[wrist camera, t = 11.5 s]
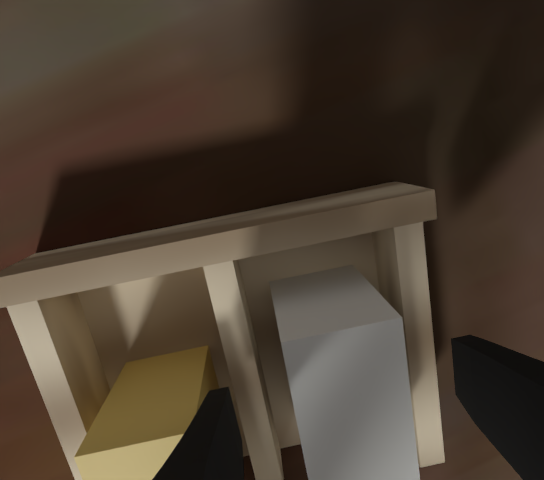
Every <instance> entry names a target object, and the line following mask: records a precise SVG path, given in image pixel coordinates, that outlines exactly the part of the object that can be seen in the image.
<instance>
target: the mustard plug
mask: <svg viewBox="0 0 544 480" xmlns="http://www.w3.org/2000/svg"><path fill="white" fill-rule="evenodd" d="M214 389H219V385H218V381H217V377H216V373H215V369H214V366H213V362H212V358H211V354H210V350H209V346H208V345H207V346H202V347H198V348H193V349H188V350H183V351H178V352H174V353H169V354H164V355H159V356H154V357H150V358H145V359H140V360H135V361H130V362H126V363H125V365H124V367H123V369H122V371H121V372H120V374H119V376H118V378H117V380H116V382H115V383H114V385H113V387H112V389H111V391H110V392H109V394H108V396H107V398H106V400H105V402H104V403H103V405H102V407H101V409H100V411H99V412H98V414H97V416H96V418H95V420H94V422H93V423H92V425H91V427H90V429H89V431H88V433H87V434H86V436H85V438H84V440H83V442H82V443H81V445H80V447H79V449H78V451H77V453H76V454H75V456H74V459H75V462H76V464H77V467H78V469H79V472H80V475H81V477H82V480H152V479H153V478H154V476H155V475H156V474H157V472H158V471H159V470H160V468H161V467H162V466H163V464H164V463H165V461H166V460H167V458H168V457H169V456H170V454H171V453H172V451H173V450H174V448H175V447H176V445H177V444H178V442H179V441H180V439H181V438H182V436H183V434H184V433H185V431H186V430H187V428H188V426H189V425H190V423H191V421H192V420H193V418H194V416H195V414H196V413H197V411H198V409H199V407H200V406H201V404H202V402H203V400H204V398H205V397H206V395H207V393H208V392H209V391H210V390H214Z"/></svg>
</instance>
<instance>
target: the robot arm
mask: <svg viewBox="0 0 544 480" xmlns="http://www.w3.org/2000/svg"><path fill="white" fill-rule="evenodd" d="M451 343H452V355H453V368H454V380H455V392H456V395H457V397H458V399H459V400H460V402H461V403H462V405H463V406H464V408H465V409H466V411H467V412H468V414H469V415H470V417H471V418H472V420H473V421H474V423H475V424H476V425H477V426H478V427H479V429H480V430H481V431H482V432H483V433H484V435H485V436H486V437H487V438H488V439H489V441H490V442H491V443H492V444H493V445H494V446H495V448H496V449H497V450H498V451H499V452H500V453H501V455H502V456H503V457H504V458H505V459H506V460H507V462H508V463H509V464H510V465H511V466H512V467H513V468H514V470H515V471H516V472H517V473H518V474H519V475H520V477H521V478H522V479H523V480H544V362H543V361H540V360H537V359H534V358H532V357H529V356H526V355H524V354H521V353H518V352H516V351H513V350H511V349H508V348H505V347H503V346H500V345H498V344H495V343H492V342H490V341H487V340H484V339H481V338H478V337H475V336H472V335H467V336H462V337H457V338H453V339H451ZM152 480H244V463H243V446H242V438H241V434H240V430H239V426H238V422H237V418H236V414H235V410H234V406H233V402H232V398H231V394H230V390H229V386H228V387H223V388H219V389H214V390H210V391H209V392H208V393H207V395H206V397H205V398H204V400H203V402H202V404H201V406H200V407H199V409H198V411H197V413H196V414H195V416H194V418H193V420H192V421H191V423H190V425H189V426H188V428H187V430H186V431H185V433H184V434H183V436H182V438H181V439H180V441H179V442H178V444H177V445H176V447H175V448H174V450H173V451H172V453H171V454H170V456H169V457H168V458H167V460H166V461H165V463H164V464H163V466H162V467H161V468H160V470H159V471H158V472H157V474H156V475H155V476H154V478H153V479H152Z"/></svg>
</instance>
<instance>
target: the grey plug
mask: <svg viewBox="0 0 544 480" xmlns="http://www.w3.org/2000/svg"><path fill="white" fill-rule="evenodd" d="M269 284H270V289H271V294H272V300H273V305H274V310H275V315H276V320H277V325H278V331H279V336H280V341H281V346H282V351H283V356H284V361H285V366H286V371H287V376H288V381H289V386H290V391H291V396H292V401H293V406H294V411H295V416H296V421H297V426H298V431H299V436H300V441H301V446H302V451H303V456H304V461H305V466H306V471H307V476H308V480H420V475H419V466H418V457H417V448H416V439H415V430H414V421H413V411H412V402H411V393H410V384H409V375H408V366H407V356H406V347H405V338H404V329H403V320H402V317H401V316H400V315H399V313H398V312H397V311H396V310H395V309H394V308H393V307H392V306H391V305H390V304H389V303H388V302H387V301H386V300H385V299H384V298H383V296H382V295H381V294H380V293H379V292H378V291H377V290H376V289H375V288H374V287H373V286H372V285H371V284H370V283H369V282H368V281H367V279H366V278H365V277H364V276H363V275H362V274H361V273H360V272H359V271H358V270H357V269H356V268H355V267H354V266H353V265H348V266H343V267H338V268H333V269H328V270H323V271H318V272H313V273H308V274H304V275H299V276H294V277H289V278H284V279H279V280H274V281H269Z"/></svg>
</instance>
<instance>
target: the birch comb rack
mask: <svg viewBox="0 0 544 480" xmlns="http://www.w3.org/2000/svg"><path fill="white" fill-rule="evenodd" d="M434 219H437V211H436V198H435V190H434V189H430V188H425V187H420V186H416V185H411V184H406V183H401V182H397V181H394V182H389V183H384V184H379V185H374V186H369V187H364V188H359V189H354V190H349V191H344V192H339V193H334V194H329V195H324V196H319V197H314V198H309V199H304V200H299V201H294V202H289V203H285V204H280V205H275V206H270V207H265V208H260V209H255V210H250V211H245V212H240V213H235V214H230V215H225V216H220V217H215V218H210V219H205V220H200V221H195V222H190V223H185V224H180V225H175V226H170V227H165V228H160V229H155V230H150V231H145V232H140V233H135V234H130V235H125V236H120V237H115V238H110V239H105V240H100V241H95V242H90V243H85V244H80V245H75V246H70V247H65V248H60V249H55V250H50V251H45V252H40V253H35V254H33V255H31V256H29V257H27V258H25V259H23V260H21V261H19V262H17V263H15V264H13V265H11V266H9V267H7V268H5V269H3V270H1V271H0V308H3V307H7V309H8V312H9V314H10V317H11V319H12V322H13V324H14V327H15V329H16V332H17V334H18V337H19V340H20V342H21V345H22V347H23V350H24V352H25V355H26V357H27V360H28V362H29V365H30V367H31V370H32V372H33V375H34V377H35V380H36V382H37V385H38V388H39V390H40V393H41V395H42V398H43V400H44V403H45V405H46V408H47V410H48V413H49V415H50V418H51V420H52V423H53V425H54V428H55V430H56V433H57V435H58V438H59V441H60V443H61V446H62V448H63V451H64V453H65V456H66V458H67V461H68V463H69V466H70V468H71V471H72V473H73V476H74V478H75V480H82V477H81V475H80V472H79V469H78V467H77V464H76V462H75V459H74V456H75V454H76V453H77V451H78V449H79V447H80V445H81V443H82V442H83V440H84V438H85V436H86V434H87V433H88V431H89V429H90V427H91V425H92V423H93V422H94V420H95V418H96V416H97V414H98V412H99V411H100V409H101V407H102V405H103V403H104V402H105V400H106V398H107V396H108V394H109V392H110V391H111V389H112V387H113V385H114V383H115V382H116V380H117V378H118V376H119V374H120V372H121V371H122V369H123V367H124V365H125V363H126V362H130V361H135V360H140V359H145V358H150V357H154V356H159V355H164V354H169V353H174V352H178V351H183V350H188V349H193V348H198V347H202V346H207V345H208V346H209V350H210V354H211V358H212V362H213V366H214V369H215V373H216V377H217V381H218V385H219V388H223V387H228V386H229V390H230V394H231V398H232V402H233V406H234V410H235V414H236V418H237V422H238V426H239V430H240V434H241V438H242V446H243V457H244V456H248V455H250V459H251V463H252V467H253V471H254V475H255V479H256V480H284V476H283V468H282V460H281V451H280V448H285V447H290V446H294V445H299V444H301V441H300V436H299V431H298V426H297V421H296V416H295V411H294V406H293V401H292V396H291V391H290V386H289V381H288V376H287V371H286V366H285V361H284V356H283V351H282V346H281V341H280V336H279V331H278V325H277V320H276V315H275V310H274V305H273V300H272V294H271V289H270V284H269V281H274V280H279V279H284V278H289V277H294V276H299V275H304V274H308V273H313V272H318V271H323V270H328V269H333V268H338V267H343V266H348V265H353V266H354V267H355V268H356V269H357V270H358V271H359V272H360V273H361V274H362V275H363V276H364V277H365V278H366V279H367V281H368V282H369V283H370V284H371V285H372V286H373V287H374V288H375V289H376V290H377V291H378V292H379V293H380V294H381V295H382V296H383V298H384V299H385V300H386V301H387V302H388V303H389V304H390V305H391V306H392V307H393V308H394V309H395V310H396V311H397V312H398V313H399V315H400V316H401V317H402V320H403V329H404V338H405V347H406V356H407V366H408V375H409V384H410V393H411V402H412V411H413V421H414V430H415V439H416V448H417V457H418V464H419V465H420V467H425V466H430V465H434V464H439V463H443V462H445V459H444V448H443V437H442V426H441V415H440V404H439V393H438V382H437V372H436V361H435V350H434V339H433V328H432V317H431V306H430V295H429V284H428V273H427V263H426V252H425V241H424V230H423V222H424V221H429V220H434Z"/></svg>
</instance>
